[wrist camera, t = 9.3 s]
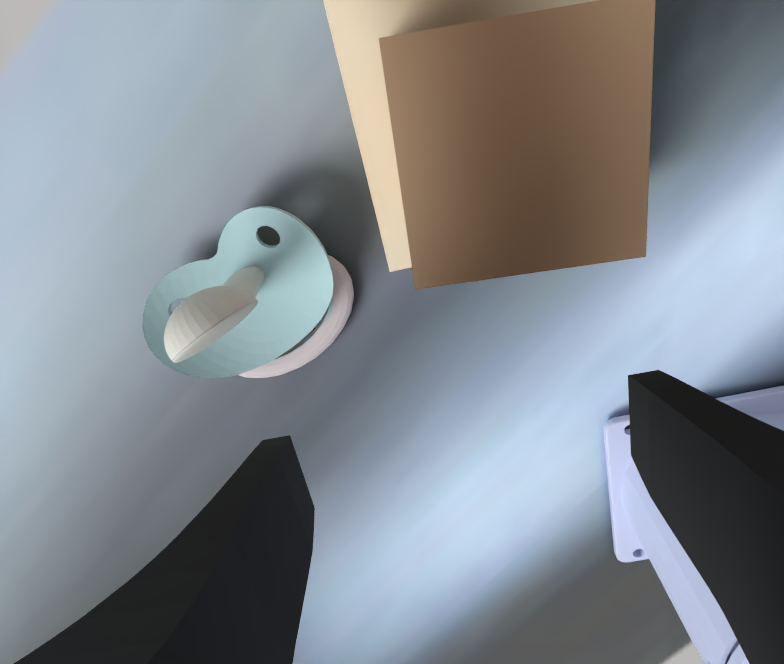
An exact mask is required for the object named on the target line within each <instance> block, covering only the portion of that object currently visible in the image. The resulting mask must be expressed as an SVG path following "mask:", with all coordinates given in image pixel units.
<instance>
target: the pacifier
mask: <svg viewBox="0 0 784 664" xmlns="http://www.w3.org/2000/svg"><path fill="white" fill-rule="evenodd" d="M261 226H270V227H272V228H273V229H275V230H276V231H277V232H278V234H279V236H280V243H279V244H277V245H274V246H271V245H267V244H265V243H264V242H262V241H261V239H260V238H259V236H258V228H259V227H261ZM178 298H186V299H185V300H184V301H183V302H182V303H180V304H179V305H178V306H177V308H176V309H175V310H174V311H173V313H172V312H171V304H172V302H173V301H174V300H175V299H178ZM353 298H354V290H353V284H352V279H351V277H350V275H349V274H348V272H347V270H346V268H345V267H344V266H343V265H342V264H341V263H340V262H338V261H337V260H336V259H334V258H333V257H332V256H329V255H327V253H326V250H325V248H324V246H323V245H322V243H321V242H320V240H319V239H318V237H317V236H316V235H315V234H314V232H313V231H312V230H311V229H310V228H309V227H308V226H307V225H306V224H305V223H304V222H302V221H301V220H300V219H299V218H297V217H296V216H294V215H293V214H291V213H289V212H287V211H284V210H282V209H280V208H276V207H271V206H257V207H253V208H249V209H246V210H244V211H242V212H240V213H238V214H237V215H235V216H234V217H233V218H232V219H231V220H230V221H229V222H228V223H227V225H226V226H225V228H224V230H223V232H222V234H221V237H220V240H219V242H218V251H217V253H216V255H215V256H214V257H212V258H211V259H203V260H197V261H194V262H191V263H188V264H185V265H183V266H181V267H179V268H177V269H175V270H173V271H172V272H170V273H169V274H168V275H166V276H165V277H164V278H163V279H162V280H161V281H160V282H159V283H158V284H157V285H156V286H155V288H154V289H153V290H152V292H151V294H150V296H149V298H148V300H147V302H146V305H145V309H144V313H143V331H144V337H145V339H146V341H147V344H148V346H149V348H150V349H151V351H152V352H153V353H154V355H155V356H156V357H157V358H158V359H159V360H161V361H162V362H163V363H164V364H165V365H167V366H168V367H170V368H172V369H174V370H176V371H179V372H181V373H184V374H186V375H192V376H197V377H202V378H211V379H213V378H222V377H230V376H234V375H240V376H243V377H249V378H266V377H271V376H277V375H282V374H284V373H287V372H289V371H292V370H295V369H297V368H300V367H301V366H303V365H304V364H306V363H308V362H309V361H311V360H313V359H314V358H316V357H317V356H318V355H320V354H321V353H322V352H323V351H324V350H325V349H326V348H327V347H328V346H330V345H331V344H332V343H333V341H334V340H335V339H336V337H337V336H338V335H339V333H340V332H341V331H342V329H343V328H344V326H345V324H346V322H347V320H348V317H349V315H350V313H351V311H352V304H353ZM328 306H329V307H328ZM327 308H328V309H327ZM326 310H327V311H326ZM325 312H326V313H325ZM324 313H325V315H324ZM323 315H324V318H323V319H322V317H323ZM321 319H322V320H321ZM320 320H321V322H320V323H319V324H318V322H319V321H320ZM317 324H318V326H317V327H316V328H315V329H314V330H313V328H314V327H315V326H316V325H317ZM312 330H313V331H312ZM311 331H312V332H311ZM310 332H311V333H310ZM309 333H310V334H309ZM307 334H309V335H308V336H307V337H306V338H305V339H303V338H304V337H305V336H306V335H307ZM302 339H303V340H302ZM301 340H302V341H301Z"/></svg>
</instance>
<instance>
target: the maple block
mask: <svg viewBox="0 0 784 664" xmlns="http://www.w3.org/2000/svg"><path fill="white" fill-rule="evenodd" d="M592 1H598V0H323V2H324V6H325V10H326V14H327V18H328V22H329V26H330V30H331V34H332V38H333V42H334V46H335V50H336V54H337V59H338V63H339V67H340V71H341V75H342V79H343V83H344V87H345V91H346V95H347V99H348V103H349V107H350V111H351V115H352V119H353V124H354V128H355V132H356V136H357V140H358V144H359V148H360V152H361V156H362V160H363V164H364V168H365V172H366V176H367V180H368V185H369V189H370V193H371V197H372V201H373V205H374V209H375V213H376V217H377V221H378V225H379V229H380V233H381V237H382V241H383V246H384V250H385V254H386V258H387V262H388V266H389V270H390V272H392V271H396V270H401V269H405V268H410V267H412V264H411V258H410V251H409V244H408V237H407V230H406V223H405V216H404V209H403V202H402V195H401V189H400V182H399V175H398V168H397V161H396V154H395V147H394V140H393V133H392V127H391V120H390V113H389V106H388V99H387V92H386V85H385V78H384V71H383V64H382V58H381V51H380V44H379V38H382V37H388V36H393V35H399V34H405V33H411V32H417V31H423V30H428V29H434V28H440V27H446V26H452V25H458V24H463V23H469V22H475V21H481V20H487V19H493V18H498V17H504V16H510V15H516V14H522V13H528V12H533V11H539V10H545V9H551V8H557V7H563V6H568V5H574V4H580V3H586V2H592Z"/></svg>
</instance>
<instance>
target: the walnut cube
mask: <svg viewBox="0 0 784 664" xmlns="http://www.w3.org/2000/svg"><path fill="white" fill-rule="evenodd" d="M654 25H655V0H598V1H592V2H586V3H580V4H574V5H568V6H563V7H557V8H551V9H545V10H539V11H533V12H528V13H522V14H516V15H510V16H504V17H498V18H493V19H487V20H481V21H475V22H469V23H463V24H458V25H452V26H446V27H440V28H434V29H428V30H423V31H417V32H411V33H405V34H399V35H393V36H388V37H382V38H379V44H380V51H381V58H382V64H383V71H384V78H385V85H386V92H387V99H388V106H389V113H390V120H391V127H392V133H393V140H394V147H395V154H396V161H397V168H398V175H399V182H400V189H401V195H402V202H403V209H404V216H405V223H406V230H407V237H408V244H409V251H410V258H411V264H412V271H413V278H414V285H415V289H422V288H429V287H436V286H443V285H450V284H457V283H464V282H471V281H478V280H485V279H492V278H499V277H506V276H513V275H520V274H527V273H534V272H541V271H548V270H555V269H562V268H569V267H576V266H583V265H590V264H597V263H604V262H611V261H618V260H625V259H632V258H639V257H646V239H647V212H648V186H649V159H650V132H651V105H652V79H653V52H654Z"/></svg>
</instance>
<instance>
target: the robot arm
mask: <svg viewBox="0 0 784 664" xmlns="http://www.w3.org/2000/svg"><path fill="white" fill-rule="evenodd" d="M628 388H629V415H624V416H619V417H614V418H611V419H609V420H608V421H607V422H606V423H605V425H604V429H603V431H604V442H605V453H606V465H607V476H608V487H609V499H610V510H611V521H612V533H613V544H614V552H615V555H616V557H617V559H618V560H619V561H622V562H632V561H638V560H644V559H650V561H651V563H652V565H653V567H654V569H655V571H656V573H657V575H658V577H659V579H660V580H661V582H662V584H663V586H664V588H665V590H666V592H667V594H668V596H669V598H670V600H671V602H672V604H673V605H674V607H675V609H676V611H677V613H678V615H679V617H680V619H681V621H682V623H683V625H684V627H685V629H686V630H687V632H688V634H689V636H690V638H691V640H692V642H693V644H694V646H695V648H696V650H697V652H698V654H699V655H700V657H701V659H702V661H703V663H704V664H784V386H779V387H774V388H768V389H763V390H758V391H752V392H747V393H742V394H736V395H731V396H726V397H720V398H713V397H711V396H709V395H707V394H705V393H703V392H702V391H700V390H698V389H696V388H694V387H692V386H690V385H688V384H686V383H684V382H682V381H680V380H678V379H676V378H674V377H672V376H670V375H668V374H666V373H664V372H662V371H659V370H656V371H650V372H645V373H639V374H633V375H628ZM628 425H630V429H625V427H626V426H628ZM313 533H314V505H313V502H312V499H311V496H310V493H309V490H308V487H307V484H306V481H305V479H304V476H303V473H302V470H301V467H300V464H299V461H298V458H297V455H296V452H295V449H294V446H293V443H292V440H291V437H290V436H284V437H278V438H273V439H267V440H263V441H262V442H261V443H260V444H259V445H258V446H257V447H256V448H255V449H254V450H253V452H252V453H251V454H250V455H249V456H248V457H247V459H246V460H245V461H244V462H243V463H242V465H241V466H240V467H239V468H238V469H237V470H236V472H235V473H234V474H233V475H232V476H231V478H230V479H229V480H228V481H227V482H226V483H225V485H224V486H223V487H222V488H221V489H220V490H219V492H218V493H217V494H216V495H215V496H214V497H213V498H212V500H211V501H210V502H209V503H208V504H207V505H206V506H205V507H204V508H203V509H202V510H201V512H200V513H199V514H198V515H197V516H196V517H195V518H194V519H193V520H192V521H191V522H190V523H189V524H188V525H187V526H186V527H185V528H184V530H183V531H182V532H181V533H180V534H179V535H178V536H177V537H176V538H175V539H174V540H173V541H172V542H171V543H170V544H169V545H168V546H167V547H166V548H165V549H164V550H163V551H161V552H160V553H159V554H158V555H157V556H156V557H155V558H154V559H153V560H152V561H151V562H149V563H148V564H147V565H146V566H145V567H144V568H143V569H142V570H140V571H139V572H138V573H137V574H136V575H135V576H134V577H132V578H131V579H130V580H129V581H128V582H127V583H125V584H124V585H123V586H121V587H120V588H119V589H118V590H116V591H115V592H114V593H113V594H111V595H110V596H109V597H107V598H106V599H105V600H104V601H102V602H101V603H100V604H99V605H97V606H96V607H95V608H94V609H92V610H91V611H90V612H88V613H87V614H86V615H85V616H83V617H82V618H80V619H79V620H78V621H76V622H75V623H73V624H72V625H71V626H69V627H68V628H66V629H65V630H64V631H62V632H61V633H59V634H58V635H57V636H55V637H54V638H52V639H51V640H49V641H48V642H46V643H45V644H43V645H42V646H40V647H39V648H37V649H36V650H34V651H33V652H31V653H30V654H28V655H27V656H25V657H23V658H22V659H20V660H19V661H17V662H16V663H14V664H292V663H293V656H294V650H295V644H296V639H297V634H298V628H299V623H300V617H301V612H302V607H303V601H304V596H305V590H306V585H307V579H308V574H309V568H310V562H311V556H312V550H313ZM637 549H639V550H637ZM635 550H637V551H635Z"/></svg>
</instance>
